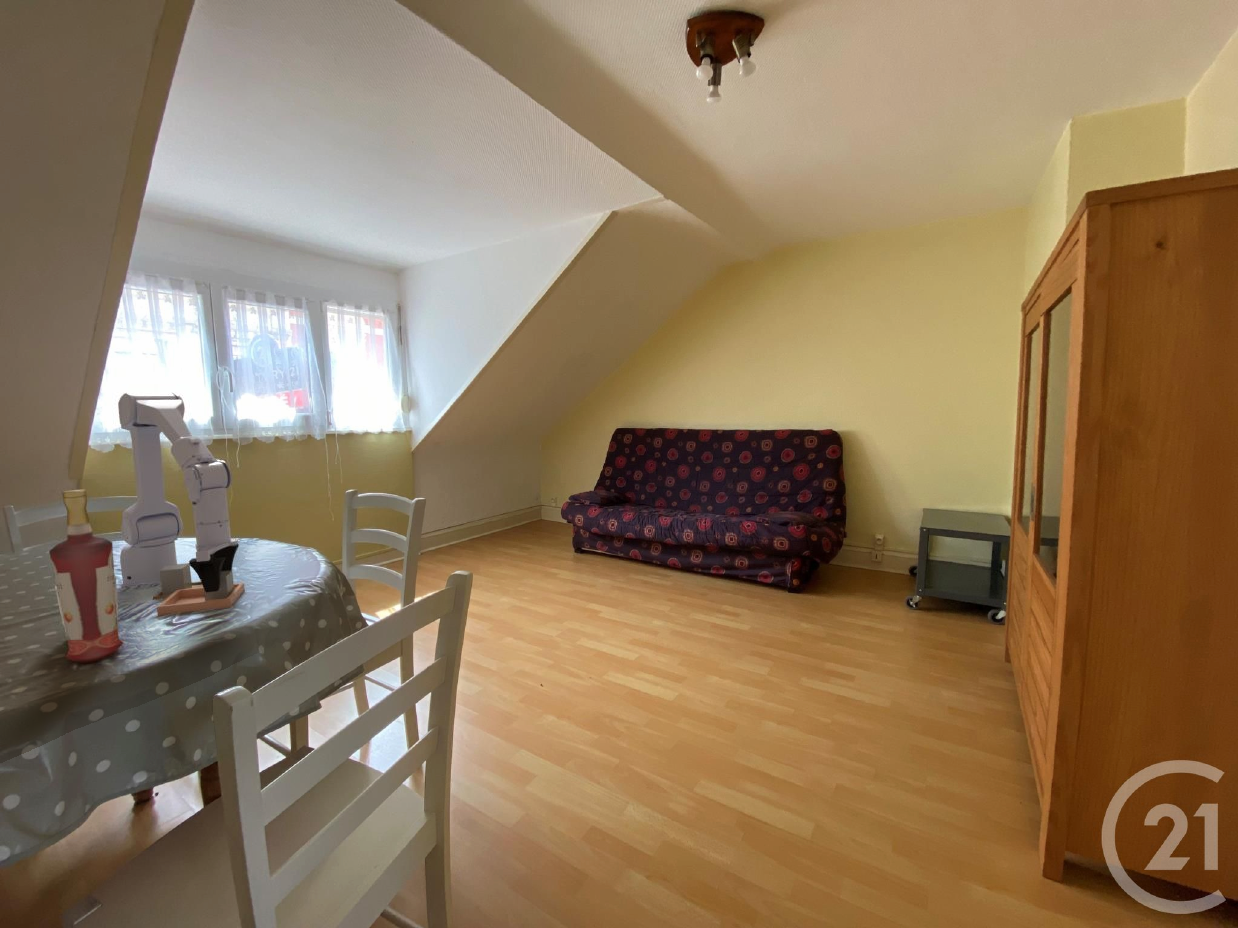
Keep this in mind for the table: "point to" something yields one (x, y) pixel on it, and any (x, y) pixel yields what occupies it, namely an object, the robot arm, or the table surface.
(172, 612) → the terracotta dish
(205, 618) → the table surface
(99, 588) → the liquor
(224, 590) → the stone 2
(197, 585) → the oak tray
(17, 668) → the table surface
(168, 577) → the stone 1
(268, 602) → the table surface
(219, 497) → the robot arm
